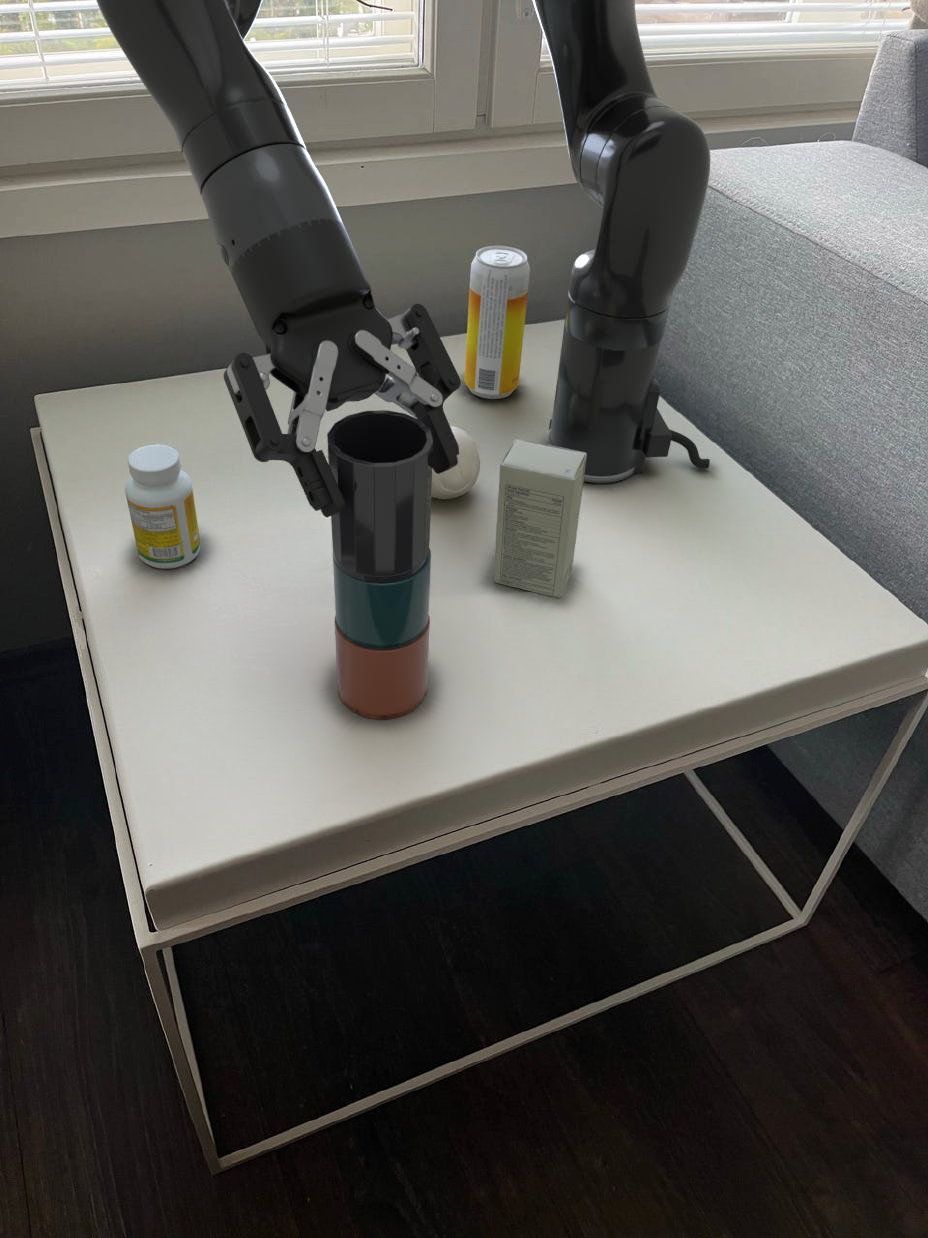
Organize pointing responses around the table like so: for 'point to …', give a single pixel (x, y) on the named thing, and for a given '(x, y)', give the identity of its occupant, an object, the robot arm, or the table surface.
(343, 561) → the cup
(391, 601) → the teal and red cylinder
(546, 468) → the cosmetic box
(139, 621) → the table surface
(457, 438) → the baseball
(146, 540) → the supplement bottle
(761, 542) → the table surface
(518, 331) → the beer can
